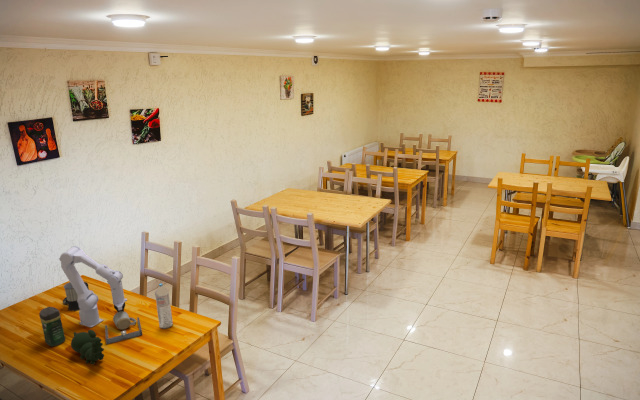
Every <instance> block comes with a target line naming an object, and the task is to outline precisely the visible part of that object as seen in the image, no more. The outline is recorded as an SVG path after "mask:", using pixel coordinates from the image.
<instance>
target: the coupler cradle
mask: <svg viewBox="0 0 640 400" xmlns="http://www.w3.org/2000/svg"><path fill="white" fill-rule="evenodd" d="M136 319H137V320H136V322H137V325H138V329H139V330H137V331H132V332H128V333H127V330H126V329H124V330H122V331H121V330H120V334H121V335H120V334H119V335H117V336H113V337H109V330H108V325H107V324H106V325H104V329H105V330H104V333H105V334H104V335H105V343H106V345H111V344H113V343H117V342H121V341H124V340H130V339H132V338H136V337H141V336H143V330H142V325H141V321H140V316H139V317H138V316H137V317H136Z"/></svg>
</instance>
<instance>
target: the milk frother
mask: <svg viewBox="0 0 640 400" xmlns="http://www.w3.org/2000/svg"><path fill="white" fill-rule="evenodd" d="M83 282H84V283H85V285H86V287H87V288H88V290H90V289H89V283H88V282H87V281H83ZM63 288H64V291H65V292H64V293H65V297H64V298H63V299H62V303H63V305H67V306H68V307H67V310H68V311H71V312H74V311H75V312H76V311H80V308H79V304H78V302H77V299H78V294H77V293H76V291H75V289H74V288H73V286H72V284H71V283H70V281H69V282H67V283H65V284H64V285H63Z"/></svg>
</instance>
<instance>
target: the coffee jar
mask: <svg viewBox="0 0 640 400" xmlns="http://www.w3.org/2000/svg"><path fill="white" fill-rule="evenodd" d="M61 317H62V316H61V312H60V310H59V309H58V308H56V307H53V306H48V307H45V308H42V309H41V310H39V320H40V323H41V327H42V332H43V338H44V343H46V344H47V345H48V346H49V347H55V346H60V345H61V344H62V343H64V342H65V341H66V336H65V331H64V328H63V323H62V318H61Z"/></svg>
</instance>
